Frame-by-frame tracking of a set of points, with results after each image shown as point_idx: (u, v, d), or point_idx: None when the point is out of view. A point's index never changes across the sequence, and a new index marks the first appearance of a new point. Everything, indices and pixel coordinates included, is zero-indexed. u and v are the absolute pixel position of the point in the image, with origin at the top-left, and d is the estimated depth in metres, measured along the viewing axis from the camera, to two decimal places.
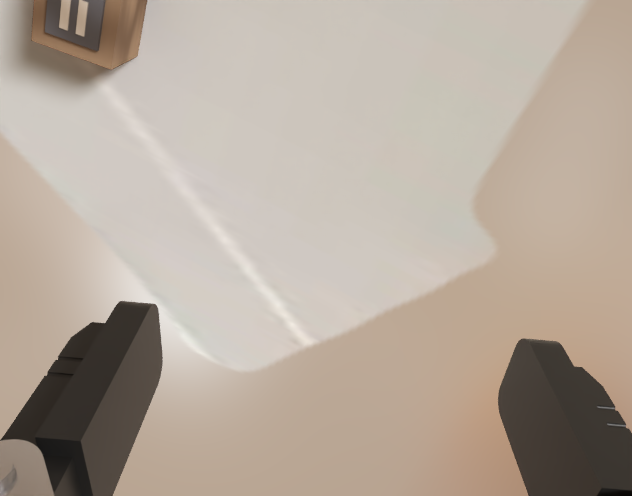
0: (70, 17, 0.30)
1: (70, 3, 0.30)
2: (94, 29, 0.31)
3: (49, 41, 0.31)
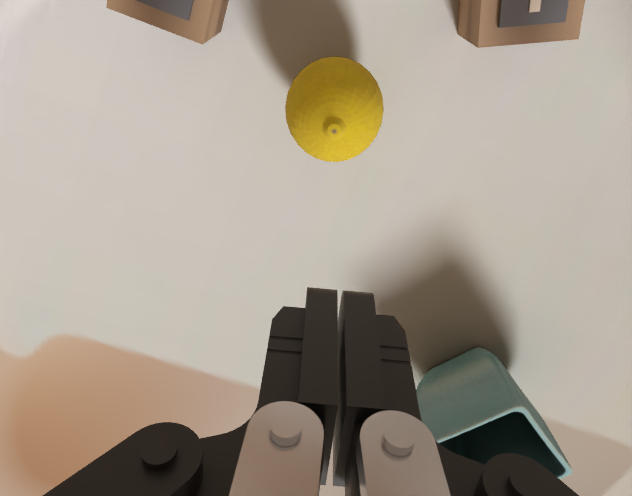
0: None
1: None
2: None
3: None
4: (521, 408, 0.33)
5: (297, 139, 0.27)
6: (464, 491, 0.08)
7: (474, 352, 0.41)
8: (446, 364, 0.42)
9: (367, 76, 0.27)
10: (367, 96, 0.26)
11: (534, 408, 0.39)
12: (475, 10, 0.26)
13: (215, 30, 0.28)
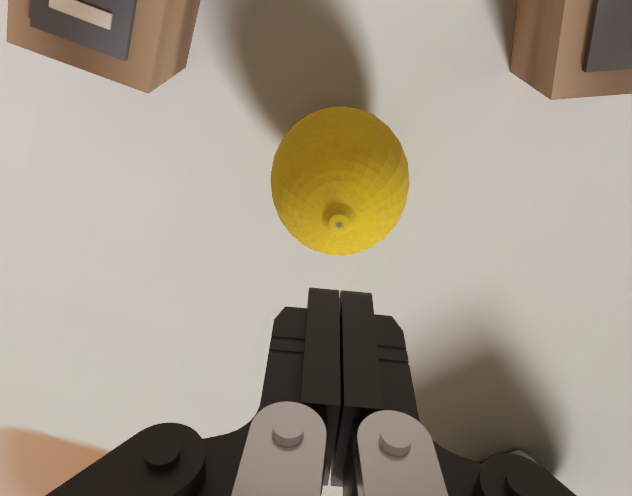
0: None
1: None
2: (67, 30, 0.17)
3: None
4: None
5: (286, 226, 0.19)
6: (461, 491, 0.08)
7: None
8: None
9: (387, 138, 0.18)
10: (387, 170, 0.17)
11: None
12: (547, 45, 0.18)
13: (173, 69, 0.20)
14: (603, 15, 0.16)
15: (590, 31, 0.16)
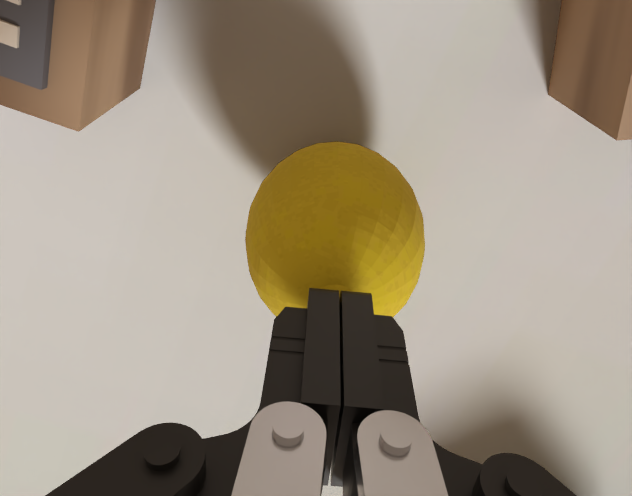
0: None
1: None
2: None
3: None
4: None
5: (265, 303, 0.14)
6: (461, 491, 0.08)
7: None
8: None
9: (398, 189, 0.14)
10: (399, 237, 0.13)
11: None
12: (611, 67, 0.13)
13: (120, 93, 0.16)
14: None
15: None
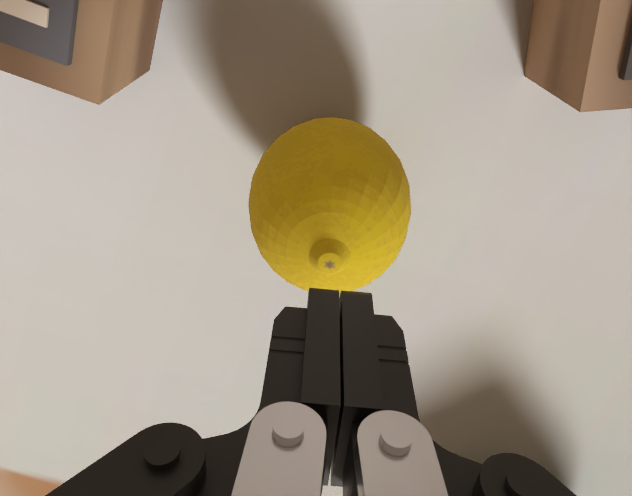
0: None
1: None
2: None
3: None
4: None
5: (267, 261, 0.16)
6: (461, 491, 0.08)
7: None
8: None
9: (386, 157, 0.15)
10: (387, 198, 0.15)
11: None
12: (575, 46, 0.15)
13: (133, 73, 0.17)
14: None
15: (630, 30, 0.14)
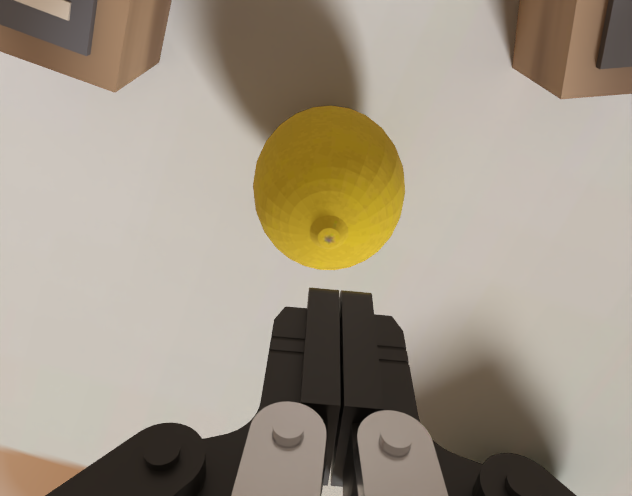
0: None
1: None
2: (20, 21, 0.15)
3: None
4: None
5: (271, 239, 0.17)
6: (461, 491, 0.08)
7: None
8: None
9: (381, 142, 0.17)
10: (382, 178, 0.16)
11: None
12: (556, 38, 0.16)
13: (145, 64, 0.18)
14: (621, 5, 0.14)
15: (605, 23, 0.15)
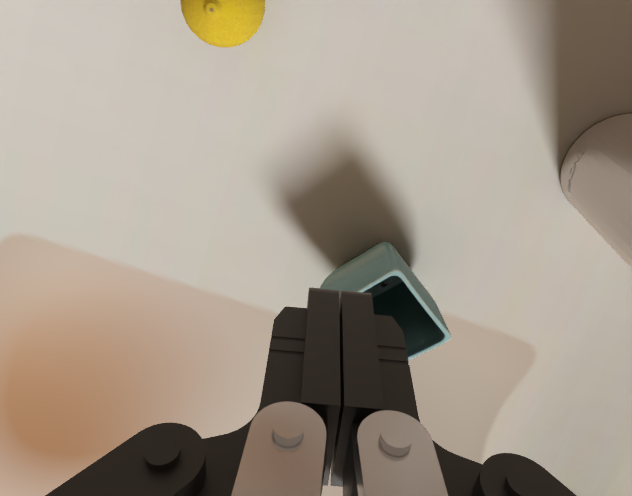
0: None
1: None
2: None
3: None
4: (397, 272, 0.39)
5: (188, 23, 0.33)
6: (461, 491, 0.08)
7: (376, 245, 0.47)
8: (354, 258, 0.48)
9: None
10: None
11: (425, 290, 0.45)
12: None
13: None
14: None
15: None
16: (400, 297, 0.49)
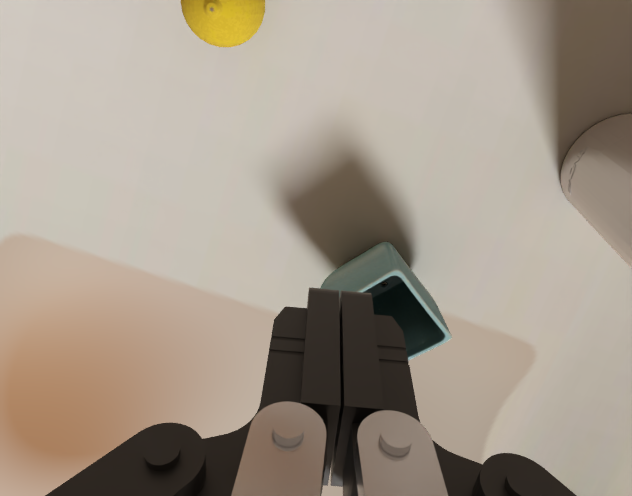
0: None
1: None
2: None
3: None
4: (397, 272, 0.39)
5: (188, 23, 0.33)
6: (461, 491, 0.08)
7: (376, 245, 0.47)
8: (354, 258, 0.48)
9: None
10: None
11: (425, 290, 0.45)
12: None
13: None
14: None
15: None
16: (400, 297, 0.49)
